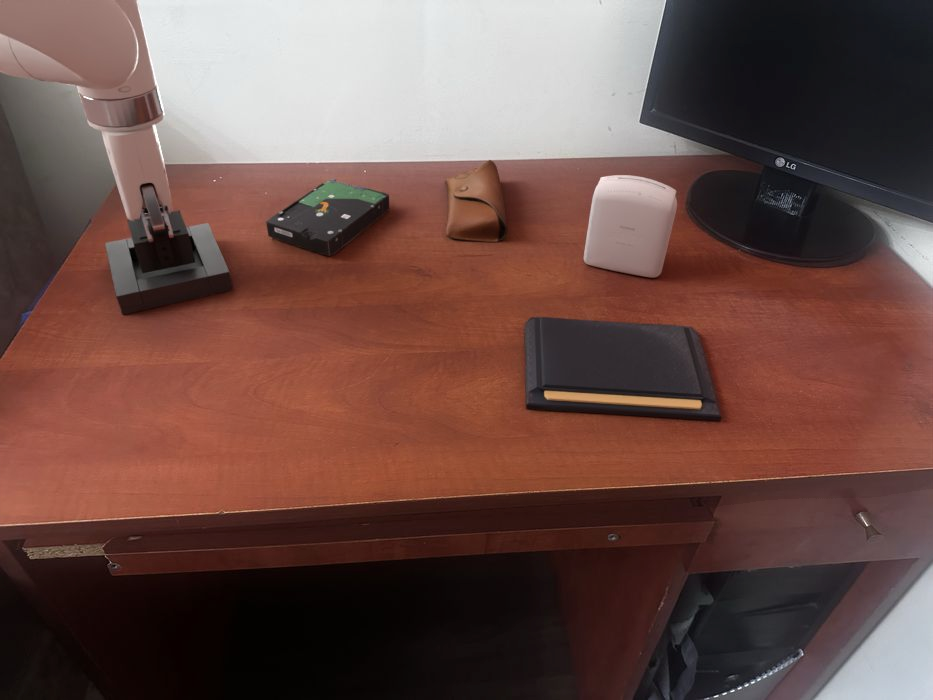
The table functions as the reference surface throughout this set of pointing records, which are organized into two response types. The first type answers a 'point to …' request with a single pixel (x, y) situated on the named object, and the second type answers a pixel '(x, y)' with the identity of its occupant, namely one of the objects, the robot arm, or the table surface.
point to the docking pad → (168, 274)
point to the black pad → (141, 236)
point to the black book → (618, 369)
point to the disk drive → (328, 217)
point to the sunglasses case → (476, 205)
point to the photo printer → (630, 225)
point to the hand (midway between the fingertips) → (163, 251)
